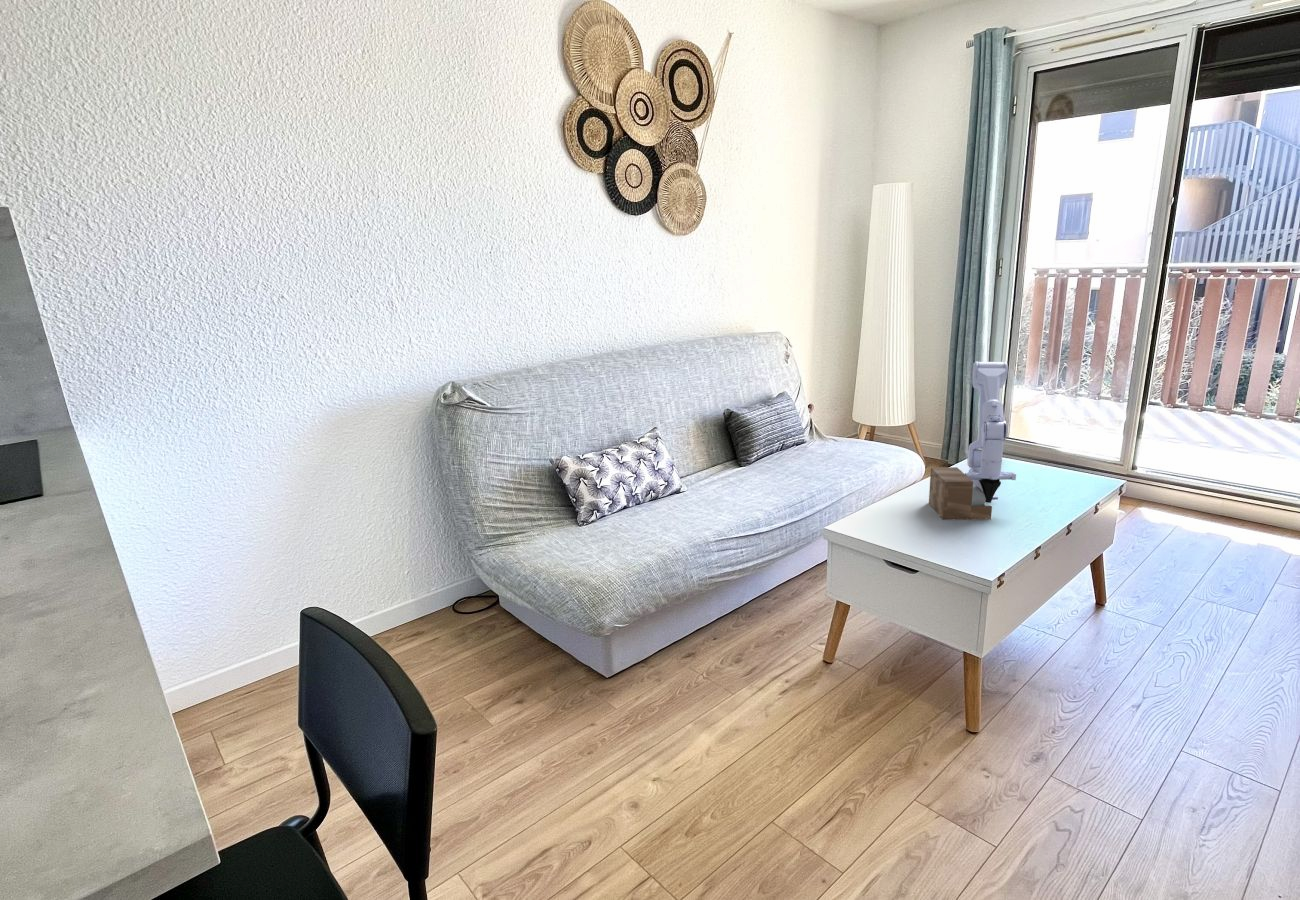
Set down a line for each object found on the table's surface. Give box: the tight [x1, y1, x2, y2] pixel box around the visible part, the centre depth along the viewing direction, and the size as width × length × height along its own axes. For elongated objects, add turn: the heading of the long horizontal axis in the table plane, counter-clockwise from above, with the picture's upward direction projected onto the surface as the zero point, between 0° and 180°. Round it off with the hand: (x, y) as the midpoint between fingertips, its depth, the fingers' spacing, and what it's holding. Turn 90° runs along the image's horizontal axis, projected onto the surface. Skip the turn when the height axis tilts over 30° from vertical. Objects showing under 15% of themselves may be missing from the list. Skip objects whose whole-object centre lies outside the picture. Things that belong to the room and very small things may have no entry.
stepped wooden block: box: [928, 466, 993, 521], centre depth 217 cm, size 15×14×12 cm
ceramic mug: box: [971, 485, 987, 506], centre depth 216 cm, size 11×8×8 cm
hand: (987, 501), depth 217 cm, fingers closed
